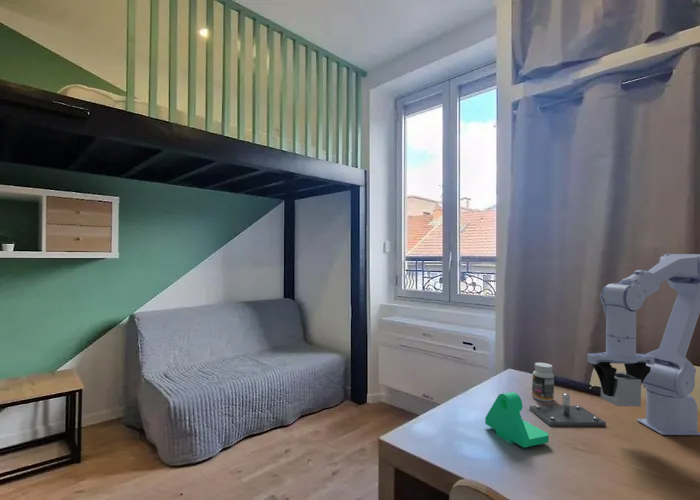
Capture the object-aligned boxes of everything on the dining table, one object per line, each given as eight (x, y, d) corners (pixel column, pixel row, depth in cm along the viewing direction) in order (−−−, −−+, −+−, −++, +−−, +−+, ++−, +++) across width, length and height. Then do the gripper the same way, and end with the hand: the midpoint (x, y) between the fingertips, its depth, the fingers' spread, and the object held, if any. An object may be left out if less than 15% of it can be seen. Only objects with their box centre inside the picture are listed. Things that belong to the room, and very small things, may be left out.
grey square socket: (622, 397, 92) (623, 372, 92) (640, 406, 86) (641, 379, 86) (600, 397, 92) (601, 371, 92) (617, 406, 86) (617, 379, 86)
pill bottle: (527, 396, 115) (528, 362, 115) (543, 394, 116) (543, 361, 116) (542, 403, 109) (543, 368, 109) (558, 401, 111) (559, 366, 111)
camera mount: (550, 446, 85) (551, 399, 85) (523, 452, 82) (524, 404, 82) (510, 423, 96) (510, 382, 96) (485, 428, 93) (485, 385, 93)
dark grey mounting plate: (580, 409, 105) (580, 387, 105) (605, 426, 95) (606, 401, 95) (529, 409, 104) (529, 387, 104) (549, 426, 94) (550, 401, 94)
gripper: (602, 339, 85) (601, 401, 85) (666, 340, 85) (665, 401, 85) (581, 332, 92) (581, 389, 92) (641, 333, 92) (640, 390, 92)
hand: (620, 394), depth 89 cm, fingers closed on grey square socket, 5 cm apart
